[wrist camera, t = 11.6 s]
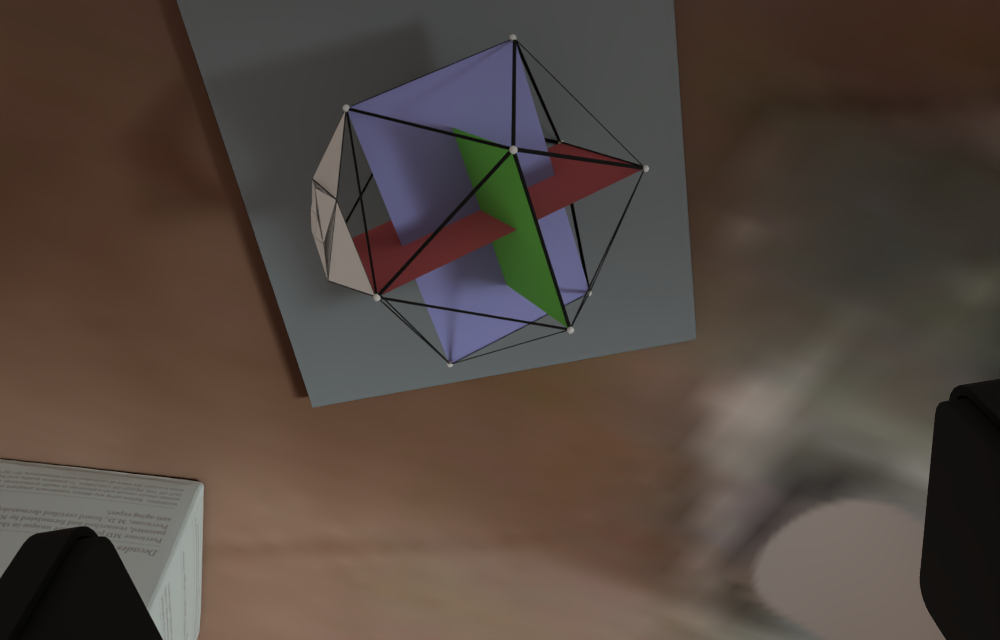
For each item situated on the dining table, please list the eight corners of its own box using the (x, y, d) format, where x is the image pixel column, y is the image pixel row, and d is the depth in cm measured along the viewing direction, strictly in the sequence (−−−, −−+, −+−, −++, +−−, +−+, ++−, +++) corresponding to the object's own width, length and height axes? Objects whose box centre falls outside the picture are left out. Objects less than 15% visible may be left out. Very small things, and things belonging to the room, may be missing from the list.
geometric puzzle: (656, -17, 18) (453, 123, 13) (713, 252, 22) (567, 451, 16) (419, 36, 23) (196, 156, 18) (494, 254, 26) (324, 411, 21)
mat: (658, -140, 20) (664, -140, 19) (691, 329, 26) (696, 339, 25) (169, -45, 20) (161, -43, 20) (315, 396, 26) (312, 407, 26)
